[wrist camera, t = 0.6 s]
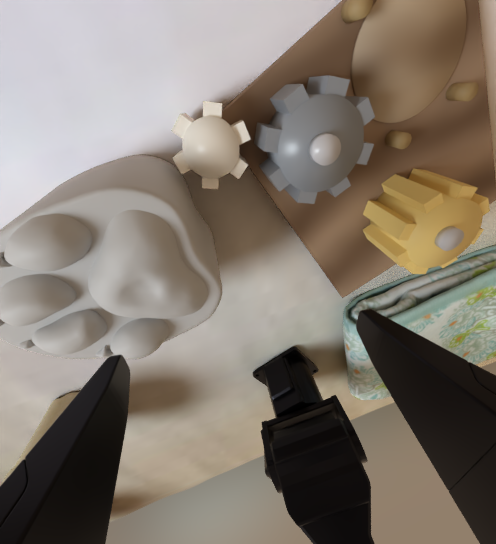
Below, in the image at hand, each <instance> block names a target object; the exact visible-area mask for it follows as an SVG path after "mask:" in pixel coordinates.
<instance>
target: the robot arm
mask: <svg viewBox="0 0 496 544" xmlns="http://www.w3.org/2000/svg"><path fill="white" fill-rule="evenodd" d="M356 329H357V332H358V334H359V336H360V338H361V341H362V343H363V345H364V347H365V349H366V351H367V353H368V356H369V358H370V360H371V362H372V364H373V366H374V368H375V369H376V371H377V373H378V374H379V376H380V378H381V379H382V381H383V383H384V384H385V386H386V388H387V389H388V391H389V393H390V394H391V396H392V398H393V399H394V401H395V403H396V404H397V406H398V407H399V409H400V411H401V412H402V414H403V416H404V418H405V419H406V421H407V422H408V424H409V426H410V428H411V429H412V431H413V433H414V434H415V436H416V438H417V439H418V441H419V443H420V444H421V446H422V448H423V449H424V451H425V453H426V454H427V456H428V457H429V459H430V461H431V463H432V464H433V465H434V467H435V469H436V471H437V472H438V474H439V476H440V478H441V479H442V481H443V482H444V484H445V486H446V487H447V489H448V490H449V493H450V494H451V496H452V498H453V499H454V501H455V503H456V504H457V506H458V508H459V509H460V511H461V512H462V514H463V516H464V518H465V519H466V521H467V523H468V524H469V526H470V528H471V529H472V531H473V533H474V534H475V536H476V538H477V539H478V541H479V543H480V544H496V375H494V374H492V373H490V372H488V371H486V370H484V369H482V368H480V367H478V366H476V365H475V364H473V363H471V362H468V361H467V360H465V359H463V358H461V357H460V356H458V355H456V354H454V353H452V352H450V351H448V350H447V349H445V348H443V347H441V346H439V345H437V344H435V343H433V342H432V341H430V340H428V339H426V338H424V337H422V336H420V335H419V334H417V333H415V332H413V331H411V330H409V329H407V328H406V327H404V326H402V325H400V324H398V323H396V322H394V321H393V320H391V319H389V318H387V317H385V316H383V315H381V314H380V313H378V312H376V311H374V310H372V309H365V310H361V311H360V312H359V315H358V319H357V323H356ZM316 372H318V368H317V366H316V365H315V364H314V363H312V362H311V361H310V360H309V359H308V358H307V357H306V356H305V355H304V354H303V353H302V352H300V351H299V350H298V349H297V348H296V347H293V348H291V349H289V350H287V351H286V352H284V353H283V354H281V355H279V356H278V357H276V358H274V359H273V360H271V361H270V362H268V363H266V364H265V365H263V366H262V367H260V368H258V369H257V370H255V371H254V372H253V377H254V378H256V379H257V380H259V381H260V382H262V383H263V384H265V385H266V386H267V387H268V391H269V395H270V398H271V402H272V406H273V409H274V413H275V417H276V418H274V419H272V420H269V421H264V422H262V428H263V429H262V430H261V435H262V439H263V444H264V458H265V473H266V475H267V477H269V478H270V479H272V482H273V484H274V485H275V488H276V490H277V492H278V493H281V492H282V493H283V497H284V501H285V504H286V508H287V511H288V513H289V515H290V516H291V518H292V519H293V520H294V521H295V523H296V524H297V525H298V526H299V527H300V528H301V529H302V531H303V532H304V533H305V534H306V535H307V537H308V538H309V539H310V540H311V542H312V543H313V544H374V541H373V539H372V537H371V486H370V481H369V479H368V476H367V474H366V472H365V470H364V467H363V465H362V463H365V462H367V457H366V455H365V452H364V450H363V447H362V445H361V443H360V440H359V438H358V436H357V434H356V432H355V430H354V428H353V426H352V424H351V422H350V420H349V419H348V417H347V415H346V413H345V411H344V409H343V408H342V406H341V404H340V402H339V400H338V398H337V396H336V395H334V396H331V398H328V399H326V400H323V399H322V396H321V394H320V392H319V389H318V387H317V385H316V383H315V380H314V378H313V376H312V375H313V374H315V373H316ZM129 386H130V369H129V367H128V365H127V363H126V361H125V359H124V357H123V355H120V354H119V355H114V356H110V357H108V358H107V359H106V361H105V362H104V363H103V364H102V365H101V367H100V368H99V369H98V370H97V371H96V373H95V374H94V375H93V376H92V377H91V379H90V380H89V381H88V382H87V383H86V385H85V386H84V387H83V388H82V389H81V391H80V392H79V393H78V394H77V395H76V397H75V398H74V399H73V400H72V401H71V403H70V404H69V405H68V406H67V407H66V409H65V410H64V411H63V412H62V413H61V415H60V416H59V417H58V418H57V419H56V420H55V422H54V423H53V424H52V425H51V426H50V428H49V429H48V430H47V431H46V432H45V434H44V435H43V436H42V437H41V438H40V440H39V441H38V442H37V443H36V444H35V446H34V447H33V448H32V449H31V450H30V452H29V453H28V454H27V455H26V456H25V459H23V460H22V461H21V462H20V463H19V465H18V466H17V467H16V468H15V469H14V471H13V472H12V473H11V474H10V475H9V476H8V478H7V479H6V480H5V481H4V482H3V483H2V485H1V486H0V544H105V542H106V536H107V530H108V525H109V519H110V514H111V508H112V503H113V497H114V491H115V486H116V480H117V474H118V469H119V463H120V457H121V452H122V446H123V440H124V435H125V429H126V423H127V416H128V402H129Z"/></svg>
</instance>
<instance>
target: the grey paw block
mask: <svg viewBox="0 0 496 544" xmlns="http://www.w3.org/2000/svg"><path fill="white" fill-rule="evenodd" d="M221 296H222V283H221V279H220V272H219V266H218V260H217V255H216V249H215V244H214V238H213V234H212V232H211V230H210V228H209V226H208V225H207V223H206V222H205V221H204V220H203V218H202V217H201V216H200V214H199V213H198V211H197V209H196V207H195V205H194V203H193V201H192V198H191V195H190V192H189V189H188V186H187V183H186V181H185V179H184V177H183V176H182V174H181V173H180V171H179V170H178V169H177V168H176V167H175V166H174V165H172V164H171V163H169V162H167V161H165V160H163V159H161V158H158V157H154V156H149V155H133V156H128V157H124V158H120V159H117V160H114V161H111V162H108V163H105V164H102V165H99V166H96V167H94V168H92V169H89V170H87V171H85V172H83V173H81V174H79V175H77V176H75V177H73V178H71V179H69V180H67V181H66V182H64V183H62V184H61V185H59V186H58V187H56V188H55V189H54V190H52V191H51V192H50V193H48V194H47V195H46V196H44V197H43V198H42V199H41V200H39V201H38V202H37V203H35V204H34V205H33V206H31V207H30V208H29V209H28V210H26V211H25V212H24V213H22V214H21V215H20V216H18V217H17V218H15V219H14V220H13V221H11V222H10V223H9V224H7V225H6V226H5V227H3V228H2V229H1V230H0V339H1V340H2V341H4V342H6V343H8V344H10V345H12V346H15V347H17V348H20V349H23V350H26V351H29V352H33V353H37V354H41V355H46V356H52V357H58V358H65V359H100V358H108V357H110V356H114V355H119V354H120V355H123V357H124V358H125V359H140V358H143V357H146V356H148V355H150V354H151V353H153V352H154V351H156V350H157V349H158V348H159V347H160V345H161V344H162V343H163V342H165V341H168V340H170V339H172V338H174V337H176V336H178V335H180V334H182V333H184V332H186V331H188V330H190V329H192V328H194V327H196V326H198V325H199V324H201V323H203V322H204V321H206V320H207V319H208V318H210V317H211V315H212V314H213V313H214V312H215V310H216V308H217V306H218V305H219V302H220V300H221Z"/></svg>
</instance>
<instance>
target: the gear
mask: <svg viewBox="0 0 496 544" xmlns="http://www.w3.org/2000/svg"><path fill="white" fill-rule="evenodd" d="M349 82H350V80H349V79H344V78H339V77H335V76H330V75H328V76H317V77H309V80H308V84H307V89H306V90H305V88H304V86H303V84H286V85H285V86H284V87H282V88H281V89H280V90H279V91H278V92H277V93H276V94H275V95H273V96H272V97H271V98H270V100H271V102H272V104H273V106H274V107H275V109H276V112H275V114H274V116H273V117H272V119H271V121H270V124H264V123H257V126H256V133H255V140H254V144H256V145H257V146H258V147H259V148H260V149H262V150H263V151H265V152H267V155H268V159H266V160H265V161H264V162H263V163H262V164H260V165H259V167H260V168H261V170H262V171H263V173H264V174H265V176H266V177H267V178H268V180H269V181H270V182H271V183H272V184H273V185H274V186H275V188H276V189H277V190H278V191H279V192H280V191H281V190H283V189H284V188H285V190H286V191H287V193H288V194H289V195H290V196H291V197H292V198H293V199H294V200H295V201H296V202H297V203H309V204H314V203H315V199H316V196H317V192H321V191H325V190H326V191H327V192H329V193H330V194H331V195H333V196H334V197H336V196H338V195H339V194H340V193H342V192H343V191H344V190H346V189H347V188H348V187H350V186H351V184H350V182H349V180H348V178H347V175H348V174H349V173H350V172H351V170H352V169H353V167H354V166H355V164H363V165H367V162H368V160H369V157H370V154H371V151H372V149H373V146H374V144H372V143H369V142H365V141H363V140H364V128H363V126H365V125H366V124H367V123H368V122H370V121H371V120H372V119H373V118H375V115H374V112H373V110H372V107H371V104H370V101H369V98H368V97H357V96H346V92H347V89H348V85H349Z"/></svg>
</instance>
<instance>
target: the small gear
mask: <svg viewBox="0 0 496 544" xmlns="http://www.w3.org/2000/svg"><path fill="white" fill-rule="evenodd" d="M171 131H172V132H173V133H175V134H176V135H178V136H179V137H180V138H182V139H183V142H182V149H183V150H181V151H180V152H178V153H177V154H176V155H175V156H174V157H173V160H174V162H175V164H176V165H177V167H178V169H179V171H180V173H181V174H184V173H186V172H187V171H189V170H191V169H192V170H193V171H194V172H196V173H197V174H198V175H200V176H202V188H208V189H218V186H219V178H220V177H222V176H225V175H226V174H228V173H230V174H232V175H233V176H235V177H236V178H237V179H239V178H240V177H241V175H242V174H243V172H244V171H245V169H246V168H247V166H248V164H247V162H246V160H245V158H243V157H242V156H241V155H240V154H239V145H240V144H242V143H244V142H246V141H248V140H250V136H249V134H248V131H247V129H246V126H245V124H244V121H242V120H239V121H237V122H236V123H234V124H232V125H229V123H227V122H226V121H225V120H223V119H222V103H214V102H206V101H203V117H202V118H199V119H197V120H194V119H192V118H191V117H190V116H188V115H187V114H186V113H183V114H180V115H179V117H178V119H177V121H176V123H175V125H174V127H173V128H172V130H171Z"/></svg>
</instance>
